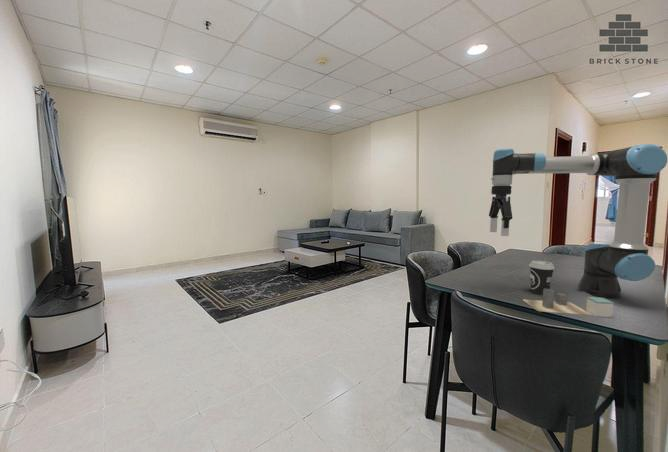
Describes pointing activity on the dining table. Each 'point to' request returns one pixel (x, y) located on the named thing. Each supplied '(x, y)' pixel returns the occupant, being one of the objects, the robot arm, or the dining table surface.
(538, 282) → the coffee cup
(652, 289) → the dining table surface
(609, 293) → the robot arm
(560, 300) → the post short
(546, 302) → the post tall
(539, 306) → the board
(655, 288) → the dining table surface
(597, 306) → the white and green block
